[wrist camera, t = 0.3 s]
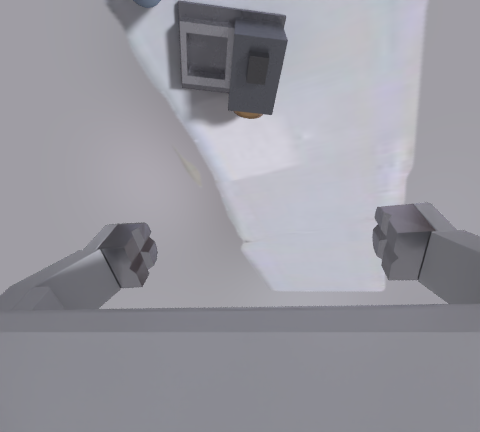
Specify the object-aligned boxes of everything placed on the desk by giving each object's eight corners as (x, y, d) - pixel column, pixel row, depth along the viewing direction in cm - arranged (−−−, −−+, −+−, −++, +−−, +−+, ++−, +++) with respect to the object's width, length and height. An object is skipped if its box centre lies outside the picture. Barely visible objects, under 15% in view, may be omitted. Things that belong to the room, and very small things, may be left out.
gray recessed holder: (178, 0, 46) (166, 21, 38) (285, 15, 47) (294, 37, 40) (182, 90, 57) (173, 120, 49) (268, 100, 58) (273, 131, 51)
